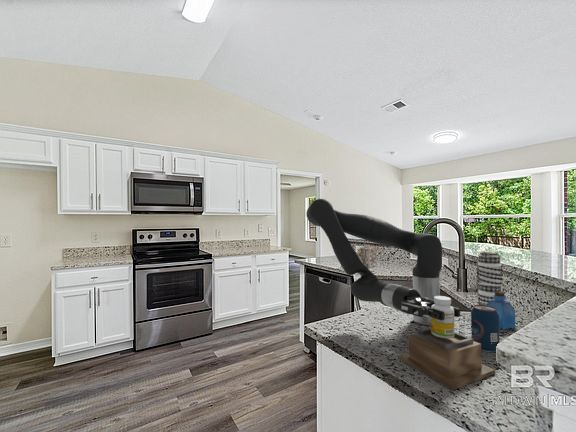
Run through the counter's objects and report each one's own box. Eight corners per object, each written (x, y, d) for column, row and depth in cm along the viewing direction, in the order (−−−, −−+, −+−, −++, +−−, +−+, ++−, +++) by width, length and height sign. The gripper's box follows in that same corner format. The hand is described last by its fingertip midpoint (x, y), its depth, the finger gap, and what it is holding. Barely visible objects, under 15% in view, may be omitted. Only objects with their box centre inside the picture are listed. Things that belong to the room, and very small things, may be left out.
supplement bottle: (433, 329, 78) (433, 293, 78) (456, 334, 75) (455, 297, 75) (428, 335, 74) (428, 298, 74) (452, 340, 71) (452, 302, 71)
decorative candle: (509, 316, 112) (507, 253, 113) (483, 314, 114) (481, 252, 115) (497, 309, 121) (495, 250, 122) (473, 307, 123) (472, 250, 124)
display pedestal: (437, 347, 85) (437, 321, 85) (495, 373, 70) (494, 341, 70) (397, 359, 78) (397, 329, 78) (452, 390, 64) (451, 354, 64)
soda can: (466, 343, 88) (465, 304, 88) (487, 342, 88) (486, 303, 89) (483, 353, 81) (482, 311, 81) (506, 352, 82) (505, 310, 82)
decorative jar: (365, 264, 247) (365, 244, 248) (377, 266, 238) (377, 244, 239) (357, 266, 239) (357, 245, 240) (369, 267, 231) (368, 245, 231)
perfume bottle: (485, 323, 105) (485, 290, 105) (497, 321, 107) (496, 289, 107) (503, 329, 99) (503, 295, 99) (515, 327, 101) (514, 293, 101)
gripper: (382, 288, 85) (432, 303, 69) (416, 283, 91) (469, 296, 75) (382, 313, 85) (432, 334, 69) (417, 307, 91) (470, 325, 75)
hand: (451, 314), depth 72 cm, fingers closed on supplement bottle, 5 cm apart
